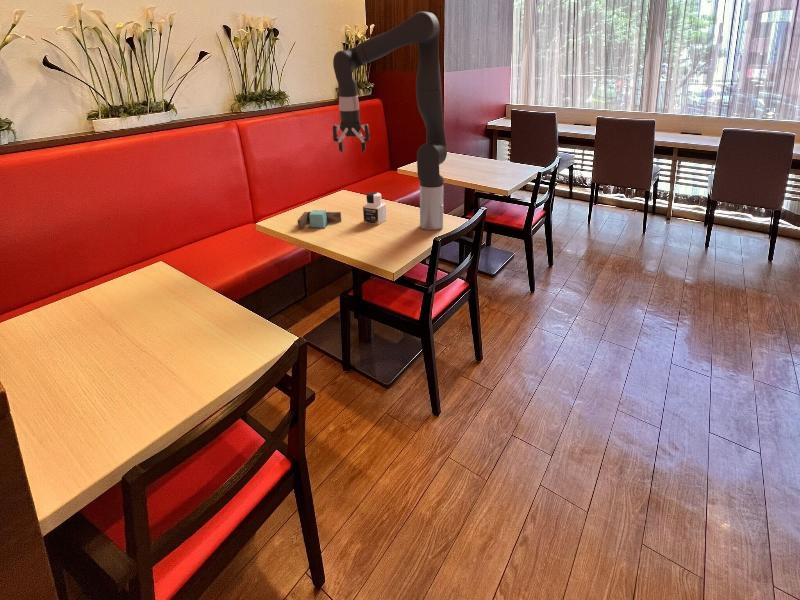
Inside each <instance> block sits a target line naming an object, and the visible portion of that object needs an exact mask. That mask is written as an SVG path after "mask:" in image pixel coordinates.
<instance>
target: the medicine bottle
mask: <svg viewBox="0 0 800 600" xmlns="http://www.w3.org/2000/svg"><path fill="white" fill-rule="evenodd" d="M362 210H363V211H362V213H363V214H362V215H363V222H364V224H370V225H378V226H379V225H381V224H382V223H384V222H385V221H386V220H387V203H384V202H383V203H382V194H381V193H380V192H377V191H373V192H368V193H366V204H365V205H362Z"/></svg>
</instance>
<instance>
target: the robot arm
mask: <svg viewBox="0 0 800 600" xmlns="http://www.w3.org/2000/svg"><path fill="white" fill-rule="evenodd" d="M411 44H412V45H413V44H416V45H417V53H418V66H417V71H416V78H415V79H416V80H415V96H416V104H417V108H418V112H419V114H420V116H421V118H422V120H423V123H424V127H425V132H426V135H425V137H426V139H425V140H426V143H423V144H422V145H420V146H419V148H418V149H417V152H416V166H417V167H416V170H417V171H416V172H417V178H418V180H419V218H420V219H419V225H420V228H421V229H423V230H427V231H436V230H442V229H443V228H444V181H445V180H444V177H443V176H442V175H441V174H440V165H441V164H443V163H444V162H445V161H446V158H447V155H448V147H447V141H446V140H447V139H446V135H445V134H446V133H445V128H444V113H443V111H444V110H443V91H442V89H443V88H442V77H441V65H440V55H439V54H440V51H439V50H440V47H439V46H440V22H439V20H438V18H437V16H436V15H435V14H434V13H433V12H430V11H421V10H420V11H417V12H416V13H414V14H413V15H411V16H410V17H408V18H407V19H406V20H405V21H403V22H401V23H400V24H399V25H396V26H395V27H393V28H391V29H389V30H387V31H385V32H382V33H380V34H378V35H375V36H372V37H370V38H368V39H365V40H363V41H361V42H360V43H358V44H357V45H356V46H354V47H352V48H349V49H345V50H338V51H337V52H336V53H334V56H333V61H332V64H333V70H334V75H335V78H336V83H337V84H338V85H337V87H338V97H339V99H338V108H339V109H338V110H339V118H340V125H339V124H336V123H335V124H333V125H332V138H333V139H332V140H333V142H336V143H338V150H339V152H340V153H344V151H345V150H344V142H343V140H344V139H345V137H347V138H348V137H354V138H355V137H357V138H358V139H359V140H360V142H361V143H360V144H361V153H364V152H365V151H366V150H367V145H366V142H369V141H370V140H371V136H370V127H369V124H368V123H365V124H362V123H361V117H360V115H361V114H360V101H359V97H358V96H359V95H358V85H357V80H355V79H354V78H353V72H352V71H354V70H357V69H359V68H360V67H362V66H365V65H366V64H369V63H371V62H374V61H377V60H378V59H382V58H383V57H385V56H387V55H388V54H390V53H392V52H393V51H395V50H397V49H399V48H401V47H405V46H408V45H411ZM361 129H363V131H364V135H365V137H364V136H363V134H362V132H361ZM339 130H340V131H342V133H341V135H340V137H339V136H338V132H339Z"/></svg>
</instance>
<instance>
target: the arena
mask: <svg viewBox="0 0 800 600" xmlns="http://www.w3.org/2000/svg"><path fill="white" fill-rule="evenodd" d="M311 212H312V211H304V212H303V213H302V214H301V216H300V217H299V218H297V220H296V221H297V228H298V230H299V231H303V230H304V228H305V227H306V226H307V224H308V223H310V217H309V214H310V213H311ZM326 217H327V224H326V225H325V227H311V225H309V226H308V229H320V230H321V229H326V228H327V226H328V225H329V222H330V223H332V222H335V223H341V222H342V212H341V211H326Z"/></svg>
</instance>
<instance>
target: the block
mask: <svg viewBox="0 0 800 600" xmlns="http://www.w3.org/2000/svg"><path fill="white" fill-rule="evenodd" d="M310 212H311V213H310V214H309V217H310V221H309V224H310V225H311V227H325V225H326V224H327V217H326V212H327V210H325V209H313V210H311V211H310ZM310 225H309V226H310ZM325 228H326V227H325Z"/></svg>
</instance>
